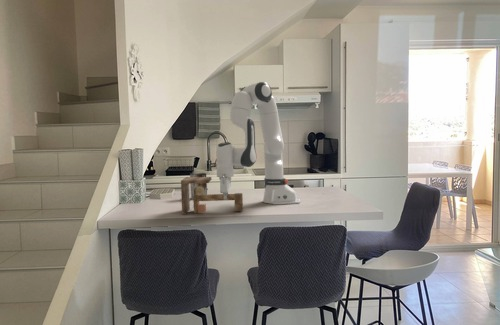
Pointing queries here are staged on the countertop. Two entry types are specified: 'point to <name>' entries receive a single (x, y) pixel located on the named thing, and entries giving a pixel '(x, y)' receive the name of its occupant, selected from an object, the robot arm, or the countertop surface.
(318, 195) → the countertop surface
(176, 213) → the countertop surface
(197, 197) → the wooden bridge block
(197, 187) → the coffee box
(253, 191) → the countertop surface
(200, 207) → the cube
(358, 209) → the countertop surface
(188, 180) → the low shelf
